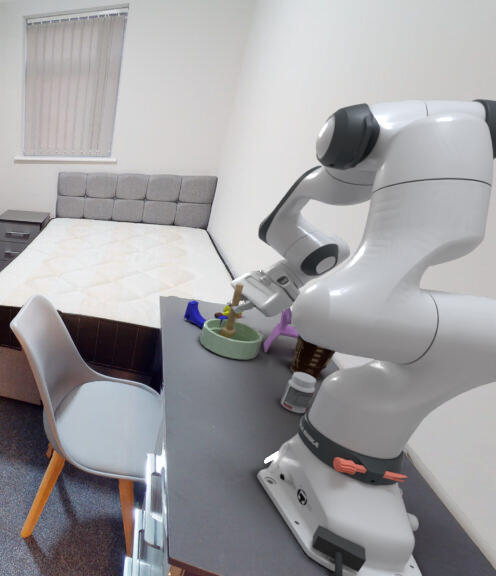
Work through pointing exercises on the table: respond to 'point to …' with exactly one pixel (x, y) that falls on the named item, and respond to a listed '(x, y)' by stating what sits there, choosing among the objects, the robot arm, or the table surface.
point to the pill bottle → (298, 392)
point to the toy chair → (282, 329)
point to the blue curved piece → (197, 314)
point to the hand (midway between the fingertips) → (231, 308)
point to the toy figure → (227, 313)
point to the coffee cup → (310, 358)
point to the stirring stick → (232, 315)
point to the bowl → (231, 340)
